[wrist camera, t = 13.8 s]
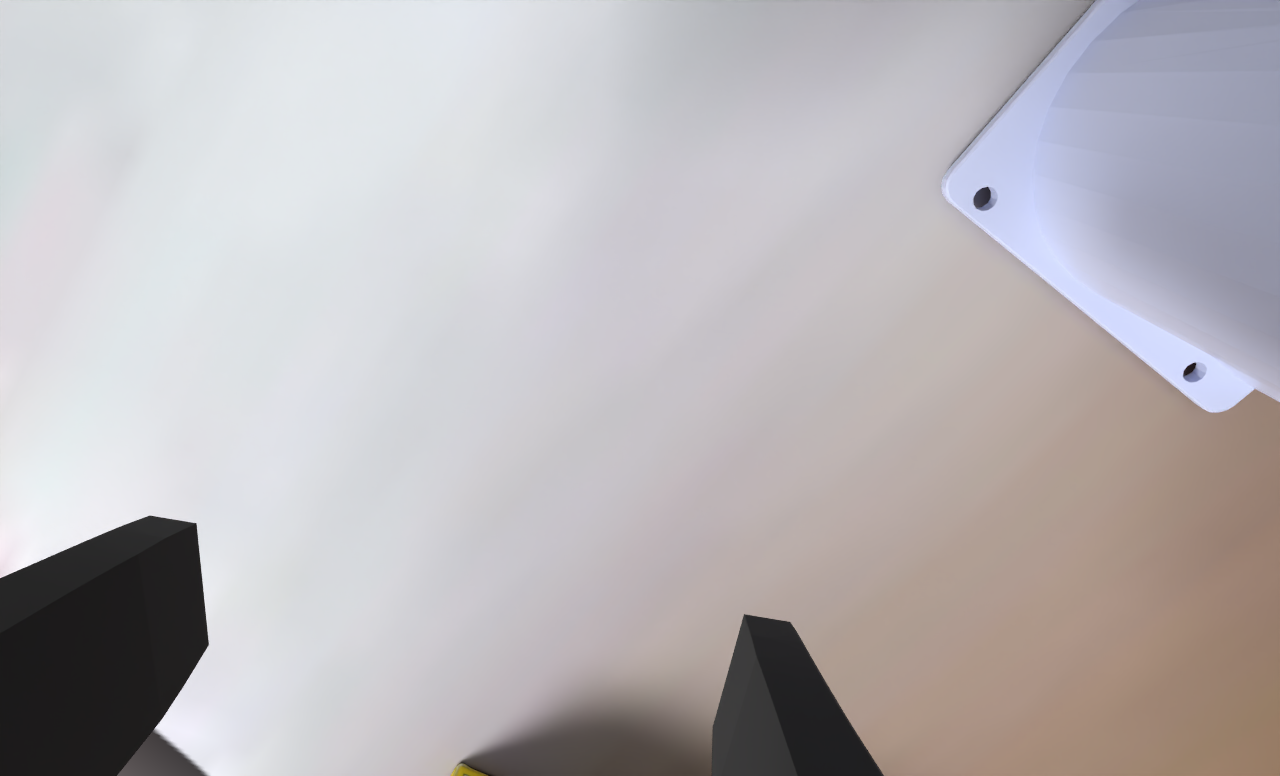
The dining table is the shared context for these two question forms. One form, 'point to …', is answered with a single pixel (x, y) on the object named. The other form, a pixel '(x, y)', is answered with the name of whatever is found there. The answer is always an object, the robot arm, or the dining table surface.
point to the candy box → (466, 771)
